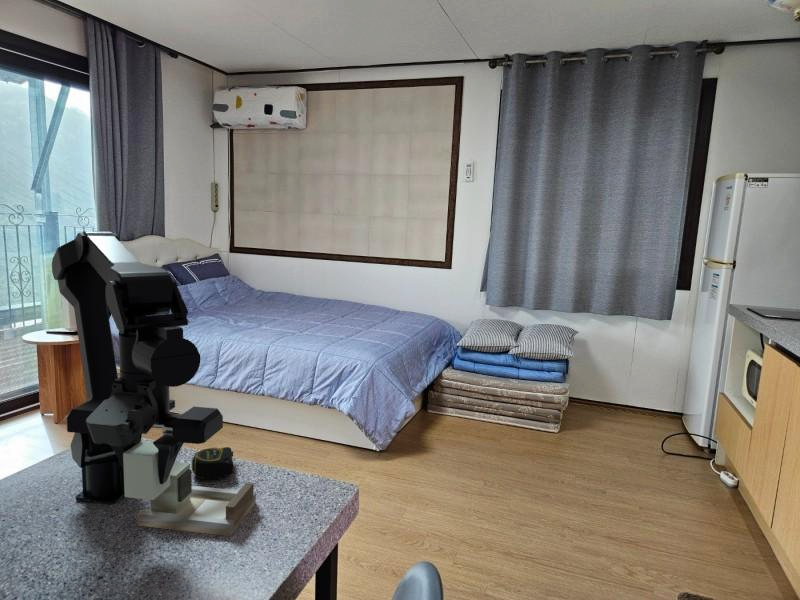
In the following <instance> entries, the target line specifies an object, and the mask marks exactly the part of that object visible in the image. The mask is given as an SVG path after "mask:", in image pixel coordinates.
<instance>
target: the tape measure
mask: <svg viewBox="0 0 800 600" xmlns="http://www.w3.org/2000/svg"><path fill="white" fill-rule="evenodd" d="M234 452H235V451H232V448H231V447H229V446H226V447H222V448H220V447H209V448H204V449H201V450H199V451H197V452H196V453H195V454H194V456H193V457H192V461H191V472H193V474H194V475H195V477H196V478H198V479H201V480H216V479H219V478H224V477H229V476H231V475H232V474H234V470H235V469H234V468H235V467H234V466H235V465H234V461H233V457H234Z"/></svg>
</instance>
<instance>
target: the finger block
mask: <svg viewBox="0 0 800 600" xmlns="http://www.w3.org/2000/svg"><path fill="white" fill-rule="evenodd" d="M153 442H154V441H146V440H145V441H144V440H141V442H140V443H138V444H137V445H135V446H134V447H132V448H131V449H129V450H128V451H126V452H125V453H123V462H124V491H125V495H124V497H125V498H129V499H130V498H132V499H139V500H150V501H151V500H154V499H155V498H156V497H158V496H159V495H160V494H161V493H162V492H163V491H164V490H166V489H167V488H168V487H169V486H170V474H169V477H168V479H167V481H166V482H165V483H164V484H160V482H159V475H158V449H157V448H156V447H155V445H154V444H153Z"/></svg>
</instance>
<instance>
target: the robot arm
mask: <svg viewBox="0 0 800 600" xmlns="http://www.w3.org/2000/svg"><path fill="white" fill-rule="evenodd" d="M51 273H52V277H53V280H54V281H57V284H58V291H59V293H60V294H61V295H62V296H63V297H64V299H65V300H66V301H67V302H68V303H69V304H70V305H71V306H72V307H73V310H74V317H75V322H76V323H75V325H76V331H77V338H78V344H79V345H78V346H79V351H80V360H81V365H82V373H83V379H84V381H83V382H84V387H85V394H86V400H85V402H84V403H81V404H80V405H77V406H75V407H73V408H71V410H69V412H68V414H67V415H66V418H65V421H66V431H67V433H73V437H72V440H71V443H70V449H71V450H70V451H71V458H72V460H73V461H74V462H75V463H76V465H77V466H78V468H79V469H81V480H82V481H81V483H82V491H81V492H79V493H78V494H77V495H75V500H76V501H84V502H91V503H101V504H109V505H110V504H112V505H113V504H115V503H116V502H118V501H119V500H120V499H122V498H123V497H125V491H124V462H123V453H125V452H126V451H128V450H129V449H131V448H132V447H134V446H135V445H137V444H138V443H140V442H141V441H142V435H147V433H149V432H150V430H151V429H152V428H155V429H162V436H160V437H159V438H157V439H156V440H155V441H152V442H153V444H154V445H155V447H156V448H157V449H158V475H159V482H160V484H164V483H165V482H166V481H167V479H168V477H169V474H170V472H171V470H172V467H173V465H174V462H176V460H177V457H178V455H179V453H180V450H181V449H182V447H183V445H184V444H195V445H200V444H205V443H206V442H207V441H209V439H211V438H212V437H214V436H215V435H216V434H217V433H218V432H220V431H221V429H223V427H224V421H223V420H224V417H223V414H222V413H221V411H220V410H219V409H218V408H217V407H216V408H215V407H203V406H192V407H191V408H189V409H188V410H186V411H185V412H184V413H171V411H172V410H173V409H174V408H176V400H175V399H170V388H171V387H173V388H174V387H175V388H176V387H180V386H182V385H185V384H186V383H188V382H190V381H191V380H192V379H193V378H194V377H195V375H197V372H198V371H199V368H200V365H201V354H200V352H199V350H198V347H197V346H196V345H195V343H193V342H192V341H191V340H189V339H186V338H185V337H184V329H183V326H188V325H189V321H188V318H187V316H188V313H189V310H188V308H187V305H186V303H185V300H184V298H183V296H182V294H181V291H180V289H179V287H178V284H177V282H176V280H175V279H174V278H173V276H172V275H171V274H170V272H168V271H167V270H166V269H164V268H162V267H159V266H157V265H151V264H146V263H142V262H141V261H140V260H138V259H137V258H136V257H135V255H133V254H132V253H131V251H129V249H128V248H126V246H125V245H123V244H122V242H120V238H119V236H118V234H117V233H116V232H114V233H113V232H112V231H109V230H108V231H106V230H105V231H101V230H99V231H98V230H83V231H82V232H77V234H76V237H75V238H74V239H73V240H70V241H68V242H67V243H64V244H62V245H60V246H59V247H57V248H56V250H55V253H54V254H53V257H52V260H51ZM108 309H109V310H108ZM109 313H110V314H111V317H112V319H113V322H114V324H115V326H116V328H117V330H118V350H119V351H118V354H119V356H118V357H119V359H118V361H119V375H118V369H117V362H116V355H115V349H114V343H113V335H112V330H111V329H112V328H111V323H110V317H109Z"/></svg>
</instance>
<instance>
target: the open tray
mask: <svg viewBox="0 0 800 600" xmlns="http://www.w3.org/2000/svg"><path fill="white" fill-rule="evenodd" d="M256 504H257V493H256V492H254V482H253V483H252V482H245V483H244V484H243V486H242V487H241V488H240V489H239V490H236V489H226V488H216V487H205V486H199V485H198V486H197V485H192V469H191V464H190V463H188V462H179V461H178V462H177V461H175V462H174V465H173V467H172V470H171V472H170V486H169V487H168V488H167V489H166V490H164V491H163V492H162V493H161V494H160V495H159V496H158V497H156V498H155V499H154V500H150V508H149V509H148V510H143V509H141V510H139V511H138V512H137V513H136V516H137V521H136V522H137V526H139V527H149V528H157V529H164V530H165V529H166V530H174V531H182V532H189V533H190V532H192V533H198V534H199V533H200V534H209V535H217V536H218V535H219V536H225V537H231V536H232V535H234V532H235V531H236V530H237V529H238V528H239V526H240V525H241V523H242V522H243V521H244V519H245V518H246V517H247V515H248V514H249V513H250V512H251V510H252V509H253V508H254V506H255V505H256Z"/></svg>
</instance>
